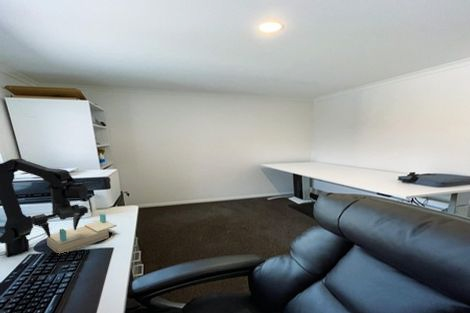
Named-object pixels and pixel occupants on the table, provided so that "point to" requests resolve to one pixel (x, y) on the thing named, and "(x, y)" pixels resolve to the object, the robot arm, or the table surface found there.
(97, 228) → the flap far
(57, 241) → the flap near
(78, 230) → the carton
